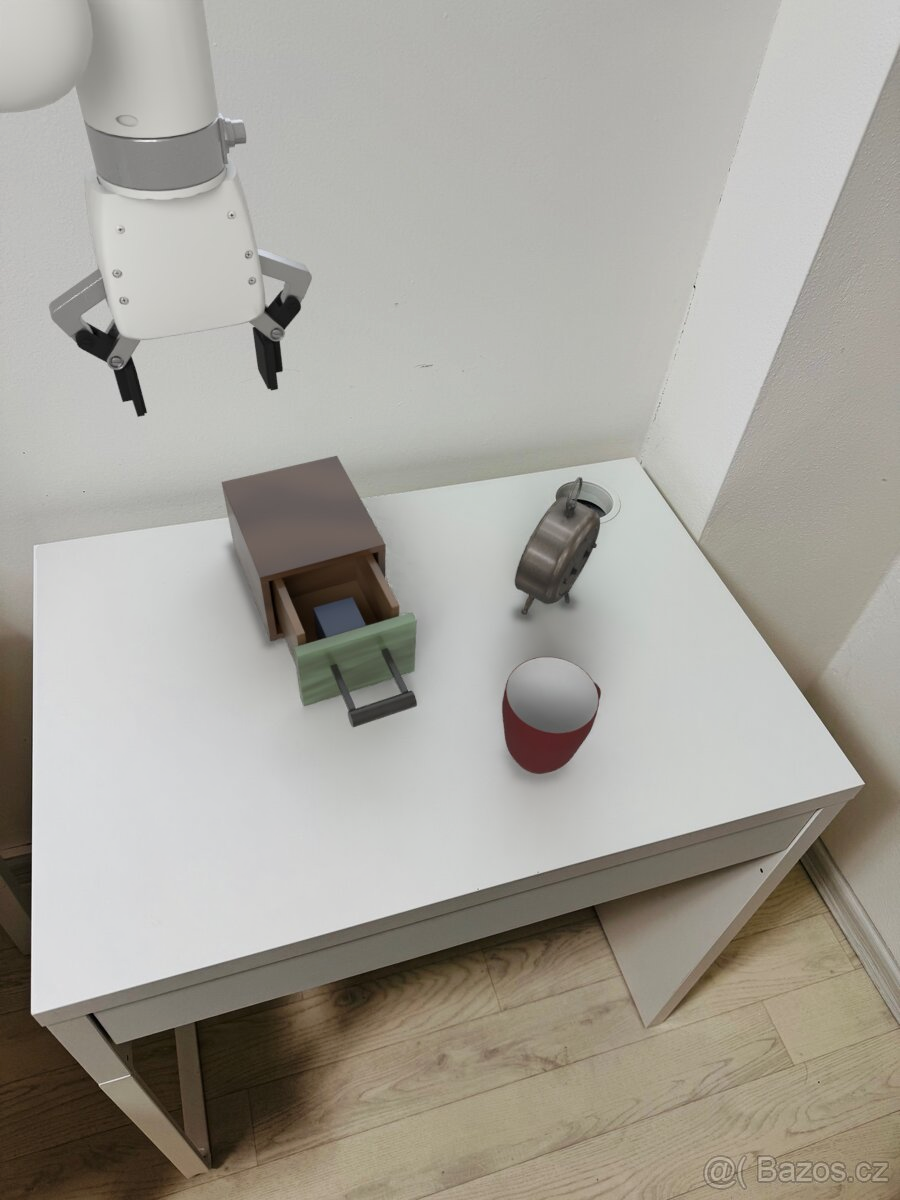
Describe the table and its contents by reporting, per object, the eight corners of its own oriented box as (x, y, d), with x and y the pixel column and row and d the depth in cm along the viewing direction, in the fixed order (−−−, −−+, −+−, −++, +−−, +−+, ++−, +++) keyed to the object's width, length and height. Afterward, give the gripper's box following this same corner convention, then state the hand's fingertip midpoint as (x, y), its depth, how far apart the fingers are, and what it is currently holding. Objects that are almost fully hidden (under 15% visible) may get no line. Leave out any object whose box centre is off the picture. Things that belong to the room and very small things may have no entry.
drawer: (442, 725, 79) (446, 676, 73) (326, 765, 75) (321, 717, 70) (367, 578, 91) (365, 526, 85) (264, 607, 87) (255, 554, 81)
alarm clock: (553, 555, 96) (577, 441, 84) (595, 575, 94) (626, 462, 82) (505, 613, 90) (524, 500, 78) (549, 636, 88) (575, 524, 76)
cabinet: (385, 608, 89) (385, 544, 82) (270, 641, 85) (259, 577, 78) (340, 520, 98) (337, 455, 91) (234, 547, 94) (221, 481, 87)
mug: (549, 690, 83) (565, 626, 76) (613, 742, 80) (636, 680, 72) (475, 753, 78) (485, 691, 71) (540, 811, 75) (557, 752, 67)
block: (328, 663, 82) (326, 637, 79) (315, 633, 84) (313, 607, 81) (367, 651, 83) (366, 625, 80) (353, 622, 85) (352, 596, 82)
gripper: (281, 113, 55) (301, 346, 67) (-5, 139, 49) (76, 387, 62) (318, 157, 50) (331, 398, 63) (8, 192, 45) (92, 447, 58)
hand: (205, 392), depth 62 cm, fingers open, 9 cm apart
